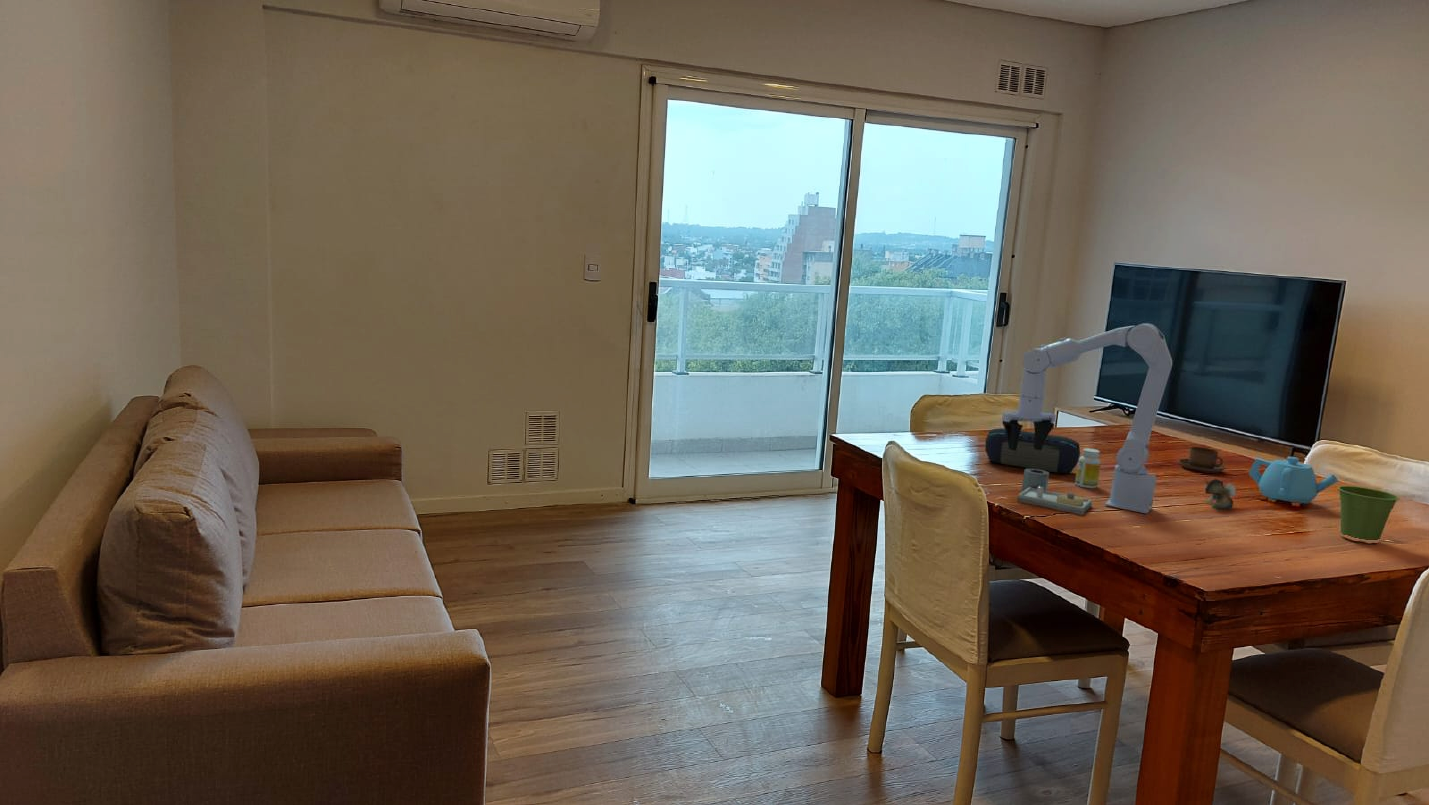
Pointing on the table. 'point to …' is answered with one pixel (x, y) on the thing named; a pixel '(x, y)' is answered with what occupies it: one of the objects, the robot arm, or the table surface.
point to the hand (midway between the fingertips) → (1024, 449)
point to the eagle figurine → (1220, 494)
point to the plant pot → (1364, 511)
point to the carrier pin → (1039, 492)
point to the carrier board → (1055, 501)
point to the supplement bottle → (1088, 469)
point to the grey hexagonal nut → (1035, 479)
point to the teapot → (1289, 480)
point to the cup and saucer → (1203, 460)
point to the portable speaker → (1033, 451)
